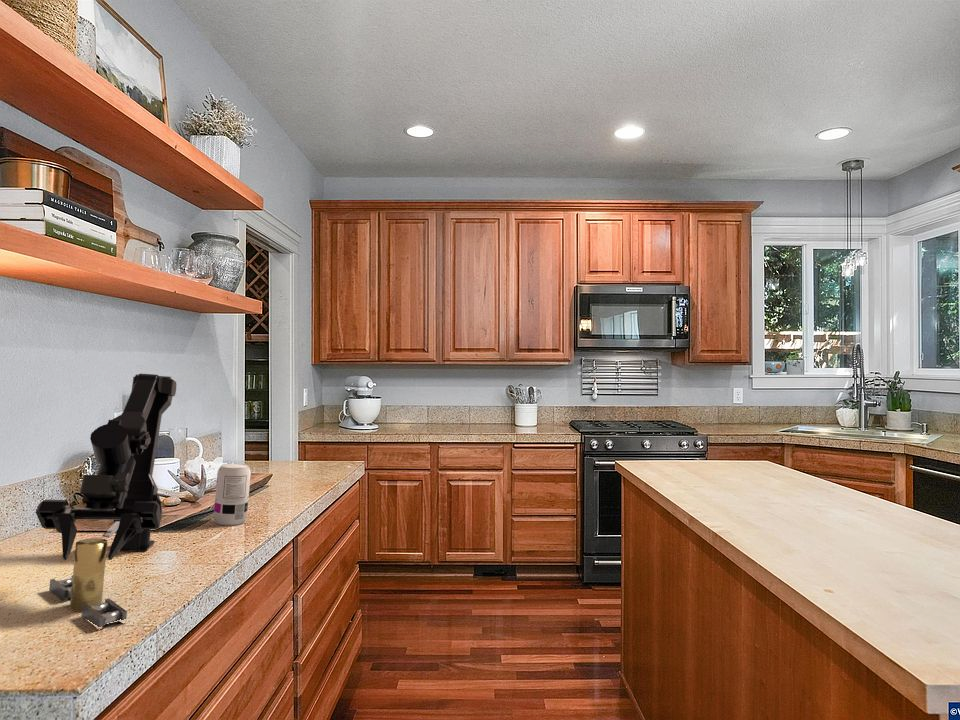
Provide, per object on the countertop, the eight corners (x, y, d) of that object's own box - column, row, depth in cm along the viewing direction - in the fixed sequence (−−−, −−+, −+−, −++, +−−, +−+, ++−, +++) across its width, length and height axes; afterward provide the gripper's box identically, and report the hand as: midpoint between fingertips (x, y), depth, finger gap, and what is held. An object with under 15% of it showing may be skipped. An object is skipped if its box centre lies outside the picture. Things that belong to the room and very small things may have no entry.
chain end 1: (49, 590, 110) (50, 579, 110) (74, 585, 113) (75, 574, 113) (63, 602, 105) (64, 590, 105) (89, 596, 109) (90, 585, 109)
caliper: (138, 515, 162) (140, 492, 162) (142, 516, 162) (144, 492, 162) (104, 537, 142) (106, 510, 142) (109, 537, 142) (111, 510, 142)
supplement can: (206, 523, 159) (211, 465, 159) (226, 516, 167) (231, 461, 167) (233, 527, 157) (238, 469, 157) (252, 520, 165) (257, 465, 165)
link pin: (82, 599, 107) (88, 537, 107) (107, 602, 107) (113, 539, 107) (63, 609, 103) (69, 544, 103) (89, 612, 102) (95, 547, 102)
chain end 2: (81, 616, 101) (82, 604, 101) (107, 610, 104) (109, 598, 104) (98, 630, 96) (99, 617, 96) (125, 623, 100) (126, 611, 100)
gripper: (45, 453, 106) (10, 535, 95) (163, 457, 111) (142, 535, 101) (58, 488, 114) (27, 568, 103) (168, 491, 119) (150, 566, 108)
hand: (87, 559), depth 103 cm, fingers open, 6 cm apart
